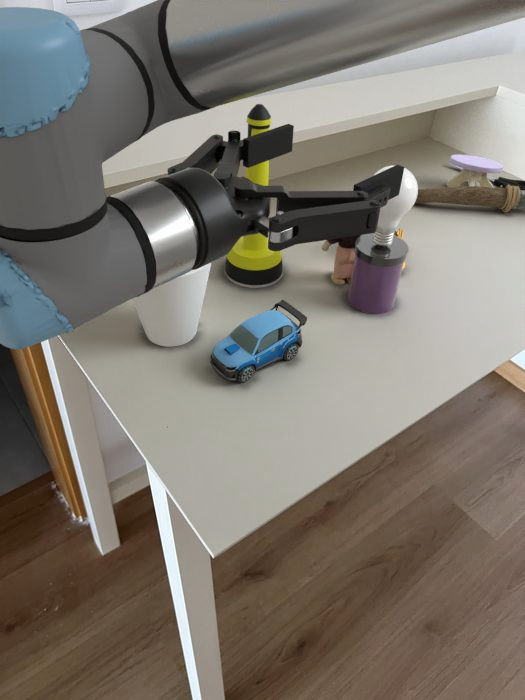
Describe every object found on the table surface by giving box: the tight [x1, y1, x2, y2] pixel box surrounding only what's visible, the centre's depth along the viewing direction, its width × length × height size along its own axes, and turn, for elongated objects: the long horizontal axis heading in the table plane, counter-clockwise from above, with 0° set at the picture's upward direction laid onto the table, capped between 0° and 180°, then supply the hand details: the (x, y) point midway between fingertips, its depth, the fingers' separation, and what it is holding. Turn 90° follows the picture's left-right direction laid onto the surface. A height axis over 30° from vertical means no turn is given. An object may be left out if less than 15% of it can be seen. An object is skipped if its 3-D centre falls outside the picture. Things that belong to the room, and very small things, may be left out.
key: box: [396, 228, 407, 271], centre depth 93 cm, size 4×8×1 cm
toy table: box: [446, 154, 505, 188], centre depth 114 cm, size 10×9×6 cm
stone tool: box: [414, 184, 525, 213], centre depth 108 cm, size 6×4×30 cm
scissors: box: [447, 163, 525, 190], centre depth 119 cm, size 7×1×20 cm
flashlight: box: [224, 103, 284, 289], centre depth 82 cm, size 25×9×9 cm
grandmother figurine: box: [321, 235, 361, 286], centre depth 85 cm, size 8×4×13 cm, turn 106°
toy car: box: [209, 298, 308, 383], centre depth 73 cm, size 6×12×6 cm, turn 129°
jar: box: [347, 233, 409, 315], centre depth 83 cm, size 7×7×9 cm
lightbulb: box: [372, 165, 419, 247], centre depth 76 cm, size 6×6×11 cm
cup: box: [131, 262, 212, 348], centre depth 74 cm, size 12×12×12 cm
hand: (341, 157), depth 58 cm, fingers open, 13 cm apart
